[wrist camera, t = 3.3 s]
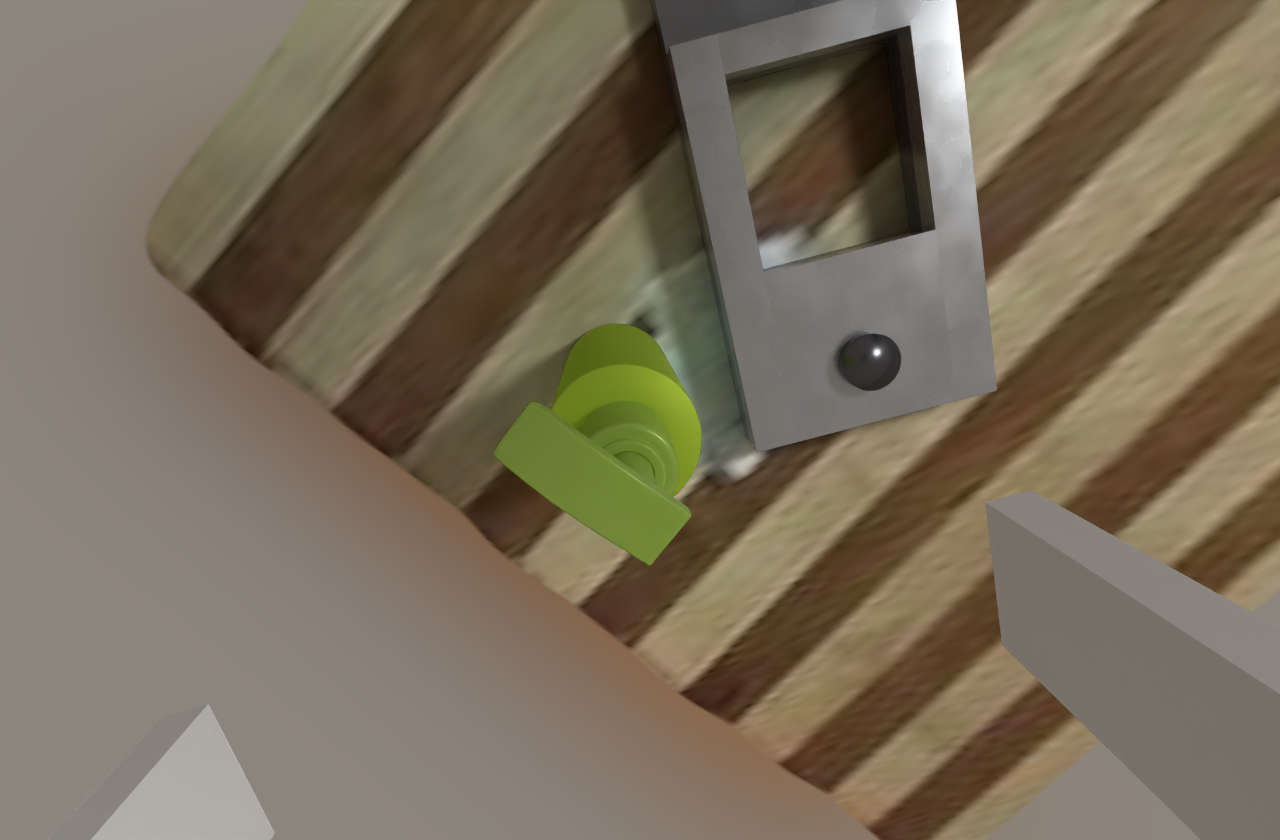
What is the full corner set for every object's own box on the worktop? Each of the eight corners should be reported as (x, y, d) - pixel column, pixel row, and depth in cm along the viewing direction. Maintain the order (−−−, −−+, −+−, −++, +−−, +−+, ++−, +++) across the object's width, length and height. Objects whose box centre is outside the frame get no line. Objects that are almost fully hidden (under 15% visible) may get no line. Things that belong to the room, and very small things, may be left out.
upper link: (664, 63, 33) (671, 41, 29) (923, -7, 32) (961, -37, 29) (746, 438, 38) (760, 456, 34) (968, 380, 38) (1005, 393, 34)
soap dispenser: (590, 290, 35) (575, 341, 16) (688, 365, 37) (783, 495, 17) (528, 374, 36) (444, 518, 17) (626, 444, 38) (651, 650, 18)
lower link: (626, -107, 31) (628, -134, 28) (902, -182, 30) (925, -214, 28) (719, 313, 36) (726, 318, 34) (953, 252, 36) (975, 252, 34)
